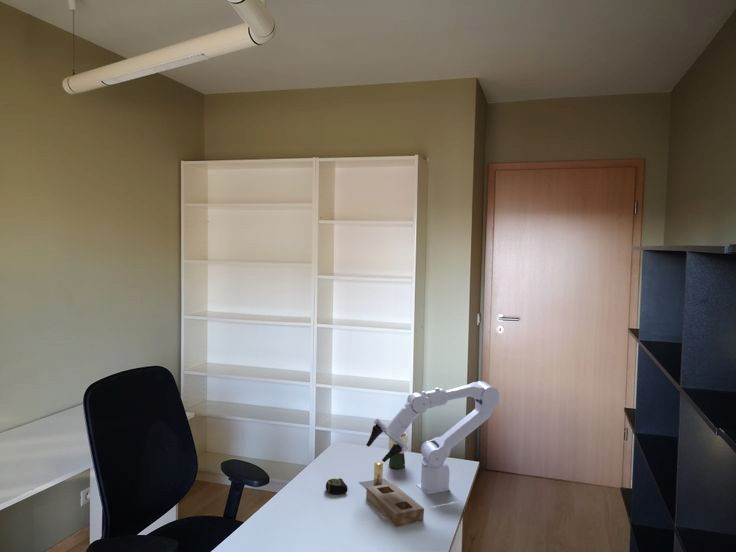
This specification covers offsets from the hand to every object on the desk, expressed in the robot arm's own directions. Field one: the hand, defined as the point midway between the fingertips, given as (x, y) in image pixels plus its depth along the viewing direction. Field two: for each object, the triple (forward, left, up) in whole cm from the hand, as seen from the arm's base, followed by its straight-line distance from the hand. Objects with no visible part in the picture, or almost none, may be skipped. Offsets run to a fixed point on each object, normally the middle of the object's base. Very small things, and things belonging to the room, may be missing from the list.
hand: (375, 453), depth 199 cm
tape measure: (+12, -5, -14) cm, 19 cm away
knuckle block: (0, +14, -13) cm, 20 cm away
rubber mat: (-3, -3, -13) cm, 14 cm away
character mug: (-18, -16, -14) cm, 27 cm away
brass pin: (-3, -3, -13) cm, 14 cm away
